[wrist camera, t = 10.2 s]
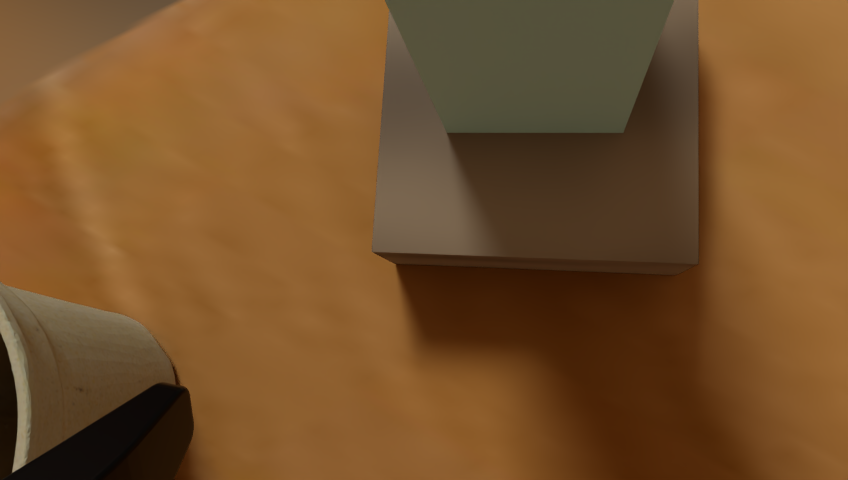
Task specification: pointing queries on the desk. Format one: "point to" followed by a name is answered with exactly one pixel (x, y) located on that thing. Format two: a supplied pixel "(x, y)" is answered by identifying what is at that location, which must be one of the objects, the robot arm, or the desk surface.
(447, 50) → the pillar
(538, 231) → the base slab
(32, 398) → the flower pot
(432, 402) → the desk surface
